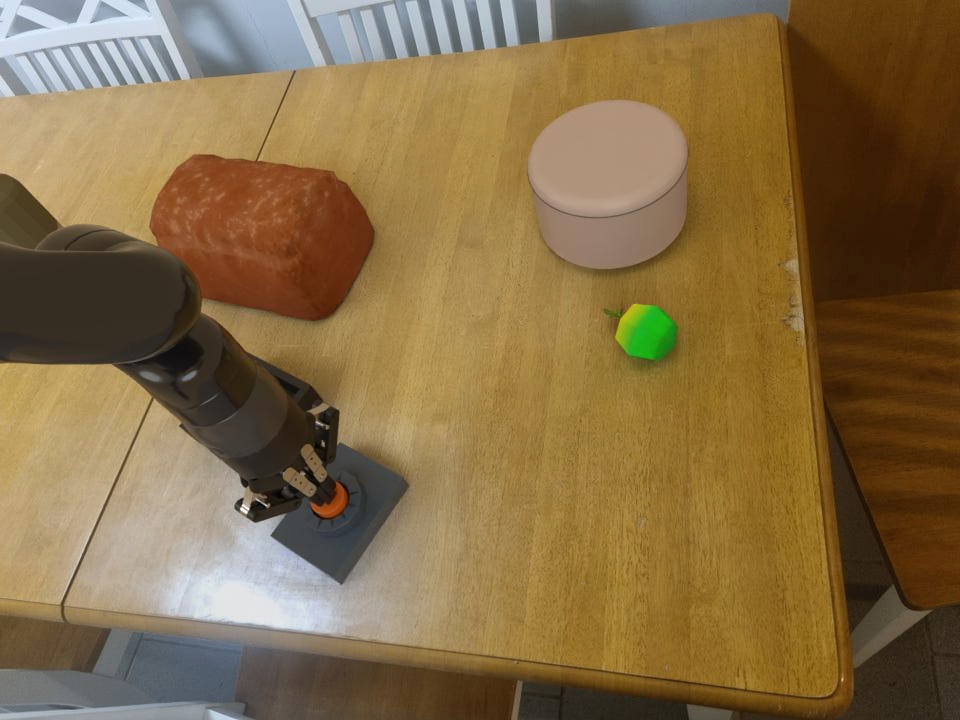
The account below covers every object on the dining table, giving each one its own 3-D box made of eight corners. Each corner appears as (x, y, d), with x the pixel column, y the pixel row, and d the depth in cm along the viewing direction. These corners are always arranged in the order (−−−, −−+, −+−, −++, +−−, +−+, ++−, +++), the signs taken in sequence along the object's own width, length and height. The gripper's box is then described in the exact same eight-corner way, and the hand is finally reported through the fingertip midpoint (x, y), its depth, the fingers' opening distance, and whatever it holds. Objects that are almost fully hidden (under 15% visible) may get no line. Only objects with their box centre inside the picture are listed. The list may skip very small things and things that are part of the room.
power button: (335, 526, 73) (328, 520, 72) (310, 510, 75) (302, 503, 74) (357, 496, 75) (350, 489, 73) (331, 481, 76) (324, 474, 75)
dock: (261, 481, 82) (245, 468, 79) (195, 439, 87) (178, 426, 84) (323, 400, 86) (311, 385, 83) (257, 365, 91) (243, 349, 88)
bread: (329, 329, 92) (276, 252, 79) (181, 297, 101) (113, 223, 89) (385, 227, 99) (345, 143, 87) (243, 206, 108) (188, 127, 96)
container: (689, 274, 84) (691, 201, 74) (534, 280, 89) (517, 213, 79) (685, 163, 93) (686, 86, 84) (545, 174, 98) (531, 102, 88)
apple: (676, 319, 72) (599, 283, 77) (650, 376, 74) (577, 338, 79) (699, 317, 78) (626, 284, 83) (674, 370, 80) (605, 334, 85)
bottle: (64, 310, 105) (-124, 149, 80) (91, 271, 108) (-82, 106, 83) (101, 316, 102) (-81, 152, 78) (127, 277, 105) (-39, 107, 81)
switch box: (341, 585, 73) (326, 573, 70) (279, 542, 77) (261, 529, 74) (409, 485, 77) (397, 469, 74) (347, 450, 82) (333, 434, 78)
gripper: (263, 336, 63) (338, 428, 78) (157, 461, 59) (258, 534, 73) (326, 368, 60) (393, 457, 74) (219, 503, 55) (312, 571, 69)
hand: (326, 495), depth 73 cm, fingers closed
